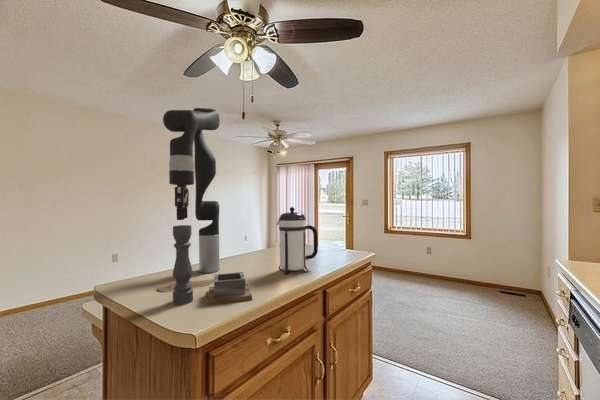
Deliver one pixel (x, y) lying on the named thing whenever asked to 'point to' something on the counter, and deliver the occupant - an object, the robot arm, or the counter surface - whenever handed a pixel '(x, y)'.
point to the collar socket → (229, 289)
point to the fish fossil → (194, 284)
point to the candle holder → (182, 265)
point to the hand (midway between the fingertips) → (182, 219)
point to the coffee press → (294, 241)
